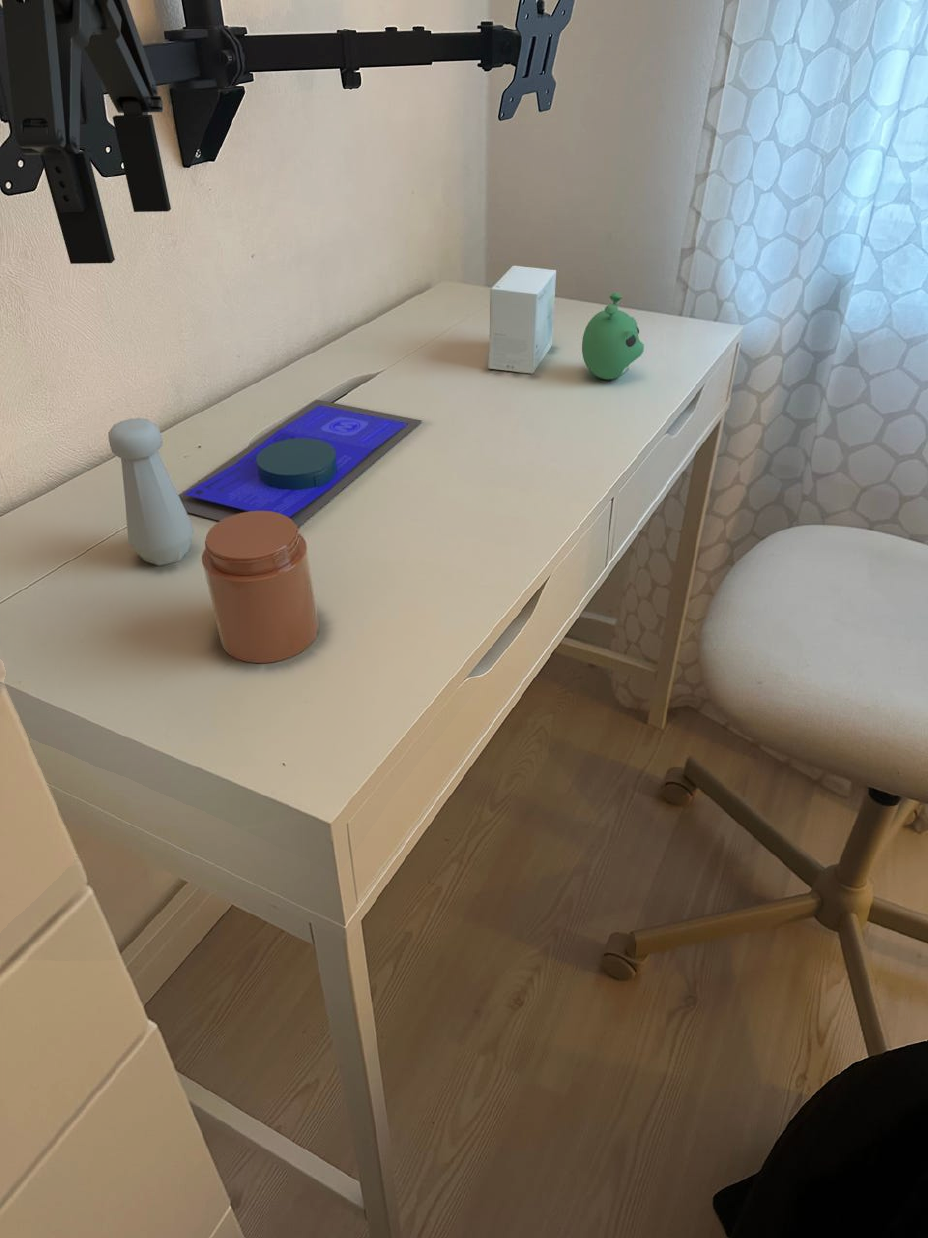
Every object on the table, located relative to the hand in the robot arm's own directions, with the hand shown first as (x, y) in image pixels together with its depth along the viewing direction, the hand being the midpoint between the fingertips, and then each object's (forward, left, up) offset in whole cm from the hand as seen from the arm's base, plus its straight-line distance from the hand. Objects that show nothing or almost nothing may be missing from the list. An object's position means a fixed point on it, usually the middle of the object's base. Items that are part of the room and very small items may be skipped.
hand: (125, 234), depth 64 cm
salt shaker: (-4, +2, -29) cm, 29 cm away
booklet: (+6, +20, -29) cm, 35 cm away
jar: (+8, -10, -29) cm, 31 cm away
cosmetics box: (+31, +49, -29) cm, 65 cm away
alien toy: (+42, +42, -29) cm, 66 cm away
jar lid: (+6, +17, -27) cm, 32 cm away
